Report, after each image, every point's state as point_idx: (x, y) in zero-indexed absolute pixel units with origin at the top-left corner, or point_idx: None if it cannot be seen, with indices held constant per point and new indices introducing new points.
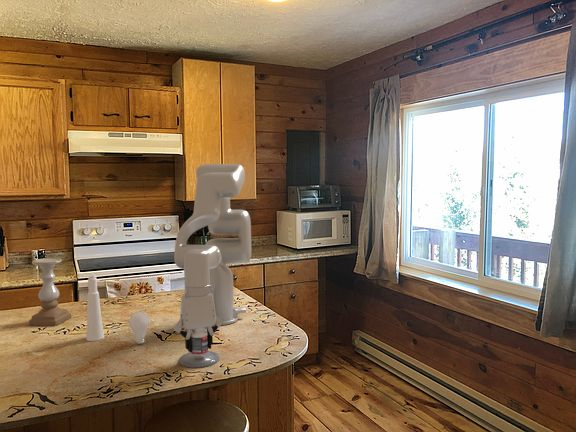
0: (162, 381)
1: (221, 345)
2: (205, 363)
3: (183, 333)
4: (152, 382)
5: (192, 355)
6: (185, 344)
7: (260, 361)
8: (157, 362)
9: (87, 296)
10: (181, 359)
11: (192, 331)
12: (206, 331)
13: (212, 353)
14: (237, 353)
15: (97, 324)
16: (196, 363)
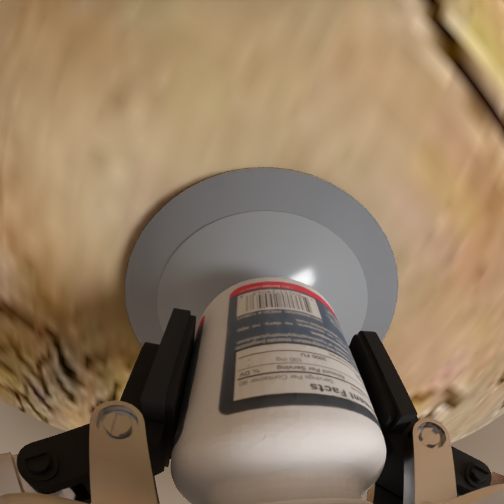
0: (49, 392)
1: (493, 167)
2: None
3: (77, 491)
4: (20, 375)
5: (238, 255)
6: (137, 363)
7: (441, 422)
8: (25, 190)
9: None
10: (143, 271)
11: (211, 477)
12: (364, 492)
13: (376, 294)
14: (465, 329)
15: None
16: None
